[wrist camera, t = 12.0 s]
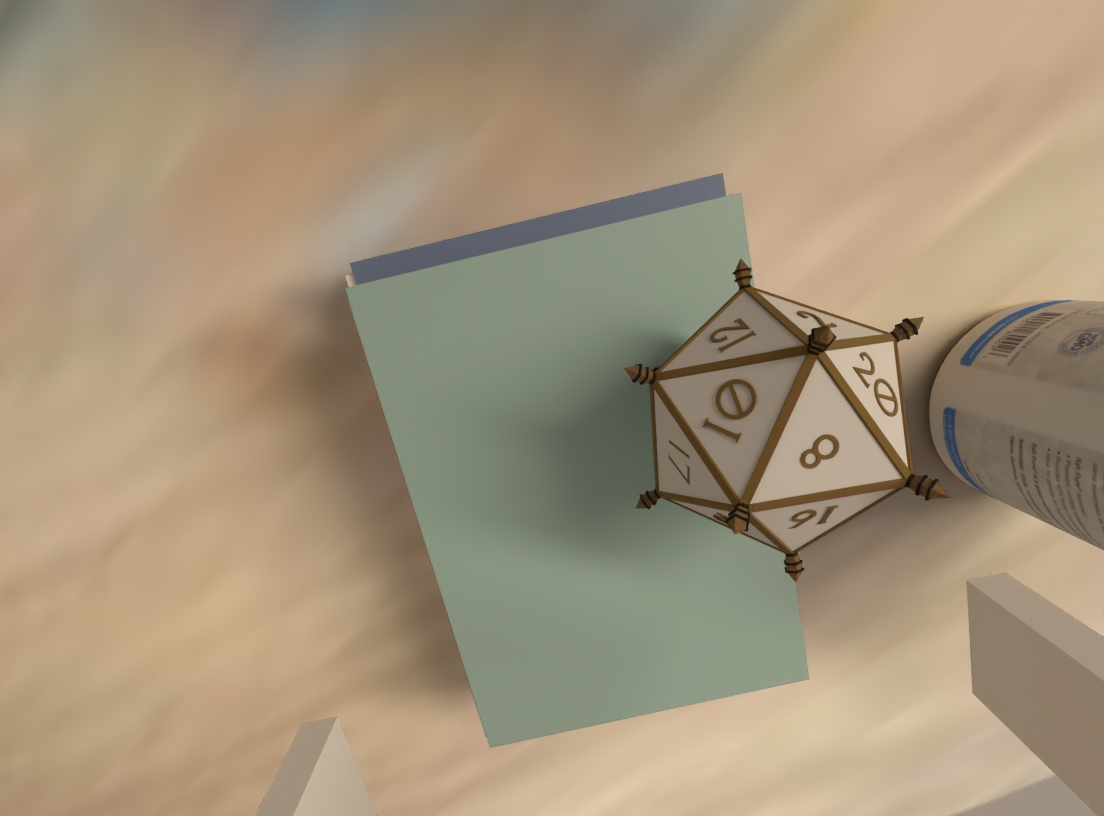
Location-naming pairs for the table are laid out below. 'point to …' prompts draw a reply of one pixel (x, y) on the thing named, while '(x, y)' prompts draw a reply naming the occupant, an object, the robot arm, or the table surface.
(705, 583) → the book pile
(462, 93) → the table surface
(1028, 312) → the supplement tub
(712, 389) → the game die
